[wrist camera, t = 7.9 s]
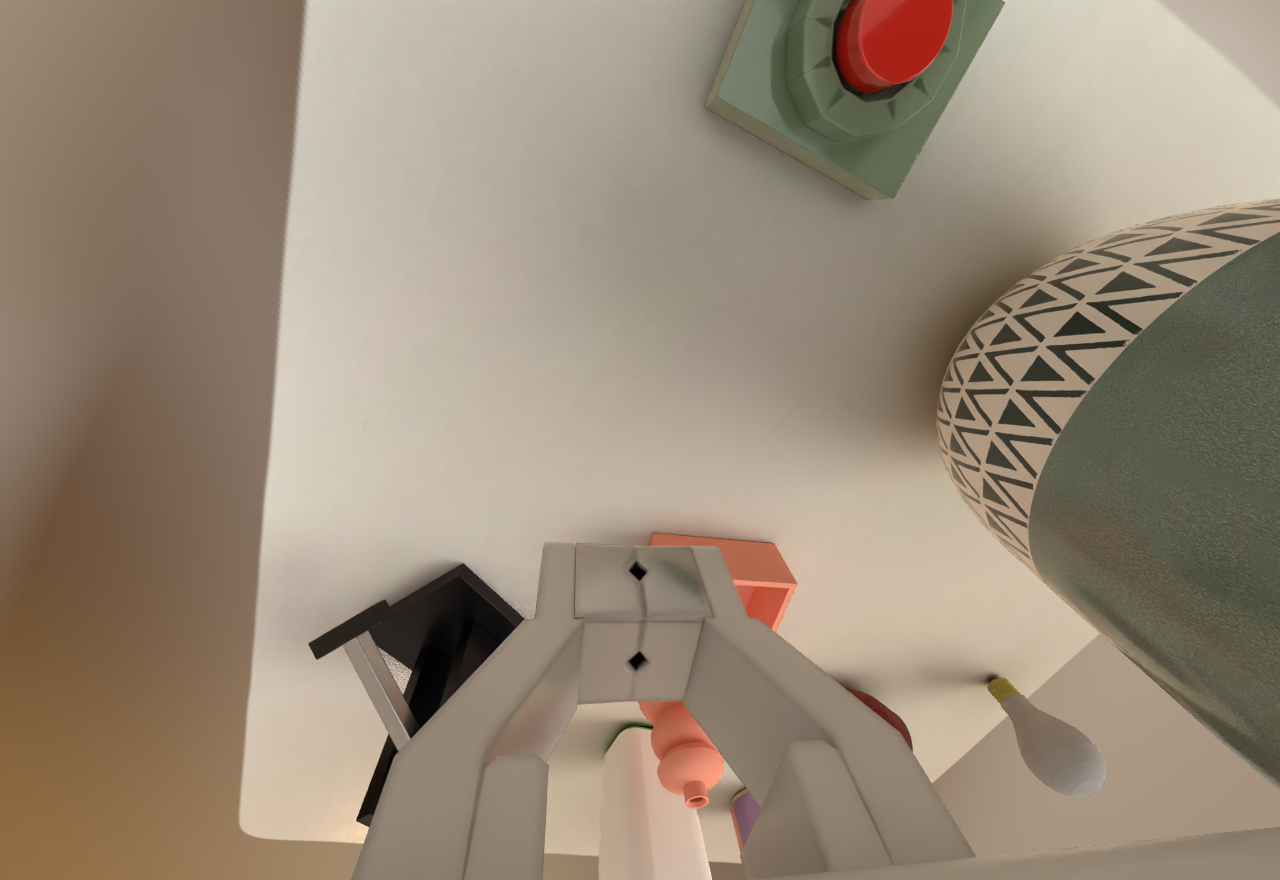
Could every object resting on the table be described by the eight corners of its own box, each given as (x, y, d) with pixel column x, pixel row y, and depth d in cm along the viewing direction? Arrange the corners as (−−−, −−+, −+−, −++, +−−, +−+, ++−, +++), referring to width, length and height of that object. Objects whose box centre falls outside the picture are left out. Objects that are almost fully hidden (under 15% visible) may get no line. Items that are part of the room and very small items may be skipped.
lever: (332, 630, 28) (297, 649, 26) (393, 594, 28) (363, 610, 25) (422, 803, 28) (395, 838, 25) (487, 771, 27) (466, 804, 25)
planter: (1234, 256, 28) (2640, 349, 9) (1026, 513, 36) (1531, 857, 17) (988, 130, 23) (2832, -244, 4) (811, 458, 31) (1171, 846, 12)
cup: (589, 758, 44) (592, 992, 31) (620, 712, 41) (638, 947, 28) (656, 768, 46) (685, 991, 33) (689, 725, 43) (736, 949, 30)
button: (818, 67, 18) (839, 53, 17) (869, -44, 17) (898, -70, 15) (886, 111, 19) (913, 102, 18) (940, 9, 18) (974, -10, 16)
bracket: (366, 620, 33) (265, 808, 23) (463, 563, 32) (404, 735, 21) (476, 700, 38) (435, 883, 28) (563, 654, 37) (555, 828, 27)
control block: (703, 107, 21) (727, 86, 18) (789, -112, 18) (838, -190, 15) (868, 200, 24) (917, 198, 21) (967, 21, 21) (1044, -17, 18)
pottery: (652, 532, 32) (677, 650, 24) (774, 543, 34) (839, 657, 25) (611, 695, 40) (619, 829, 31) (712, 697, 42) (746, 825, 33)
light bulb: (1009, 693, 47) (1108, 805, 38) (960, 700, 46) (1049, 815, 38) (1028, 658, 44) (1139, 769, 36) (976, 664, 44) (1075, 778, 35)
